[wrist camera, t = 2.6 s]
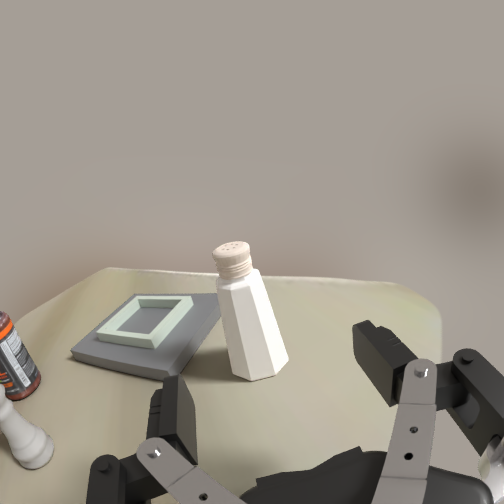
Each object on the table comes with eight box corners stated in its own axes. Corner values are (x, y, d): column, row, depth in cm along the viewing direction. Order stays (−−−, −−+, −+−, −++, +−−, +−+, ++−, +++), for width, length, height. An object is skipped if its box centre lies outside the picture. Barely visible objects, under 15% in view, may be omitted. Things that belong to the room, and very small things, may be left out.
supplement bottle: (0, 401, 24) (-50, 320, 20) (19, 373, 30) (-22, 296, 26) (31, 403, 24) (-23, 313, 20) (49, 371, 30) (6, 287, 26)
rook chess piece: (23, 440, 19) (-26, 376, 16) (57, 432, 20) (8, 365, 18) (18, 474, 15) (-41, 408, 12) (56, 468, 16) (-4, 399, 14)
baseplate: (75, 360, 32) (65, 341, 31) (137, 302, 44) (131, 286, 43) (173, 382, 26) (162, 360, 25) (229, 303, 38) (224, 284, 37)
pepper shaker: (239, 342, 30) (209, 238, 26) (293, 341, 29) (272, 230, 25) (221, 380, 25) (182, 265, 22) (283, 382, 24) (256, 258, 20)
